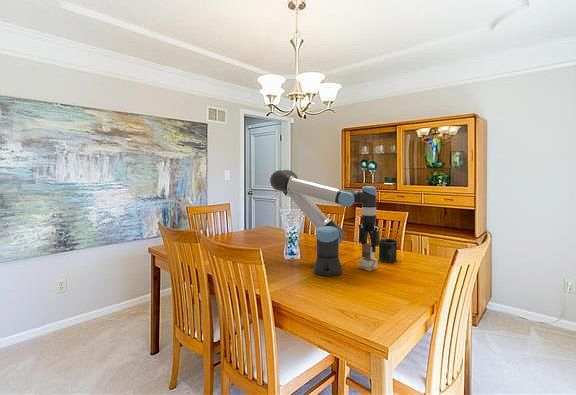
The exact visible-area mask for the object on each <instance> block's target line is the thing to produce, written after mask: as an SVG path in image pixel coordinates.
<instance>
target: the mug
mask: <svg viewBox="0 0 576 395" xmlns="http://www.w3.org/2000/svg"><path fill="white" fill-rule="evenodd" d="M378 246H379V247H378V260H379V261H380V262H382V263H396V262H397V258H398V256H397V254H398V253H397V249H398V247H397V246H398V240H397V239H392V238H379V245H378Z"/></svg>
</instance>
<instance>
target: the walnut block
mask: <svg viewBox="0 0 576 395" xmlns="http://www.w3.org/2000/svg"><path fill="white" fill-rule="evenodd" d="M370 246H371V242H367V243H365V244H362V243H361V257H362V258H367V259H371V258H370Z"/></svg>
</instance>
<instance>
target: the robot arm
mask: <svg viewBox="0 0 576 395" xmlns="http://www.w3.org/2000/svg"><path fill="white" fill-rule="evenodd" d="M269 183H270V186H271V187H272V189H274V190H275V191H277V192H282V193H283V195H284V196H285V197H288V198H290V199H291V200H292V201H293V202H294V204H295V205H296V206H297V207H298V209H299V210H300V211H301V213H303V214H304V215H305V216H306V218H307V219H308V220H309V221H310V223H311V224H312V225H313V226H314V228H315V229H316V230H315V231H316V232H315V233H316V235H315V236H316V237H315V238H316V258H315V261H314V265H313V267H312V268H313V269H312V270H313V271H312V272H313V273H314V274H316V275H318V276H323V277H334V276H340V275H341V274H342V272H343V269H342V264H341V261H340V258H339V255H340V254H339V253H340V252H339V251H340V248H339V246H340V245H341V244H342V243H343V241H344V239H345V233H344V229H343V228H342V227H341V226H340V225H338V224H336V222H334V220H333V219H331V218H330V219H329V218H328V217H327V215H325V214H324V213H323V212H322V210H321V209H320V208H319V207H318V205H317V204H316V203H315V202H314V201H313V200H312V198H315V199H319V200H323V201H326V202H330V203H334V204H338V205H340V206H341V207H343V208H344V207H347V208H349V207H351V206H352V205H353V204H356V205H357V204H361V214H362V215H361V222H362V223H361V224H358V232H359V233H358V242H359V243H361V245H362V244H367V243H368V242H367V241H368V240H367V239H368V237H369V239H370V244H371V246H370V258H373V259H376V248H377V246H379V240H380V229H381V228H380V227H378V226H376V222H377V215H376V214H377V187H376V186H373V185H371V186H370V185H367V186H366V185H365V186H362V187H361V189H340V188H336V187H331V186H327V185H323V184H319V183H316V182H311V181H308V180H303V179H300V178H298V176H297V174H296V173H295V172H294V171H292V170H289V169H283V170H281V169H279V170H276V171H274V172H272V174H271V175H270V179H269ZM368 235H369V236H368Z"/></svg>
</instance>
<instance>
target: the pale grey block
mask: <svg viewBox="0 0 576 395" xmlns="http://www.w3.org/2000/svg"><path fill="white" fill-rule="evenodd" d="M378 260H379V259H376V258H371V259H367V258H364V257H362V258H359V260H358V268H359V269H363V270H365V271H373V270H375V269H378Z"/></svg>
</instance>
